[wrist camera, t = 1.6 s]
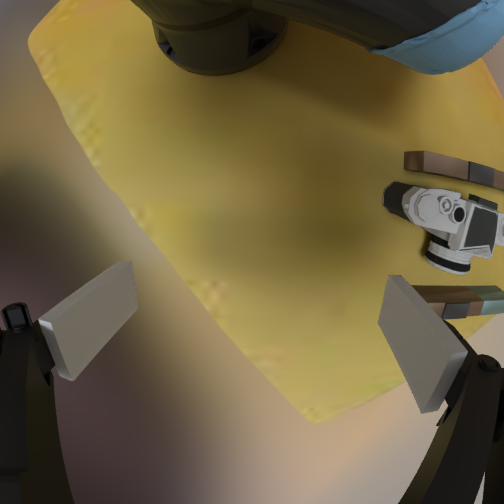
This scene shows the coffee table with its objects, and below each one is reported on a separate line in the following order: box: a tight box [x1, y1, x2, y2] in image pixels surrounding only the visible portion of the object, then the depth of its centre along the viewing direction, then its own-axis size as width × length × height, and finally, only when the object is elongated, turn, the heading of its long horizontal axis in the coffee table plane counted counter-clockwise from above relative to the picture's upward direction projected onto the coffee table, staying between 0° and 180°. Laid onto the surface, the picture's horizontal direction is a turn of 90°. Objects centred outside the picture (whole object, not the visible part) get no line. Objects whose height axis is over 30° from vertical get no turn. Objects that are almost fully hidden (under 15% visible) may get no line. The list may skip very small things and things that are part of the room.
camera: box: [382, 182, 504, 275], centre depth 24 cm, size 16×9×10 cm, turn 84°
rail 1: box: [404, 151, 504, 191], centre depth 24 cm, size 2×20×5 cm, turn 88°
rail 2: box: [412, 286, 504, 320], centre depth 29 cm, size 2×20×5 cm, turn 89°
